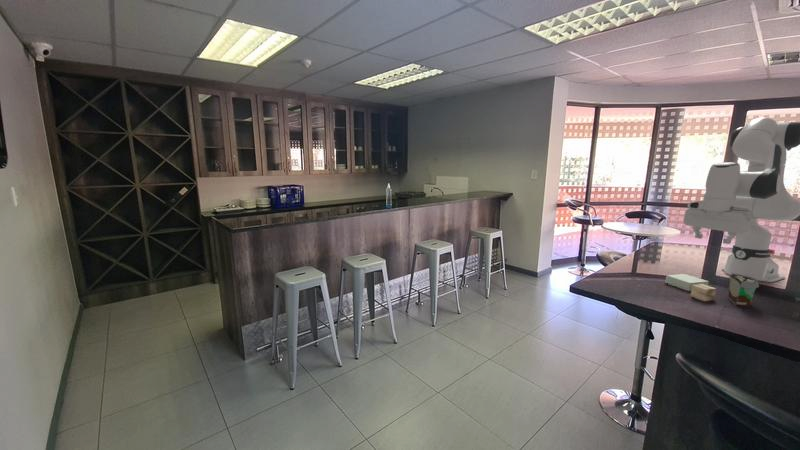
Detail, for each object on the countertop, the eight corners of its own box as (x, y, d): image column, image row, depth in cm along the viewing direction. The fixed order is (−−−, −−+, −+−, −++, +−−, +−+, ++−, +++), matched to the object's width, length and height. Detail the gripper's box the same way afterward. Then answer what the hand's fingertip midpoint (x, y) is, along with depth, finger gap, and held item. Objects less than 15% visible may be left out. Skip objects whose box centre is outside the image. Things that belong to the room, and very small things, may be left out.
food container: (760, 310, 116) (766, 285, 114) (737, 307, 119) (742, 281, 117) (747, 299, 126) (752, 275, 124) (726, 296, 129) (730, 272, 127)
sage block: (682, 282, 146) (684, 273, 145) (707, 290, 137) (708, 281, 136) (665, 283, 144) (666, 275, 144) (688, 291, 135) (690, 282, 134)
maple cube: (700, 295, 130) (702, 284, 129) (714, 300, 125) (716, 288, 124) (690, 296, 129) (692, 285, 128) (704, 301, 124) (706, 289, 123)
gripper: (759, 208, 111) (752, 246, 114) (695, 202, 131) (690, 235, 133) (746, 209, 110) (739, 247, 112) (683, 203, 130) (678, 235, 132)
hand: (712, 240), depth 123 cm, fingers open, 8 cm apart
